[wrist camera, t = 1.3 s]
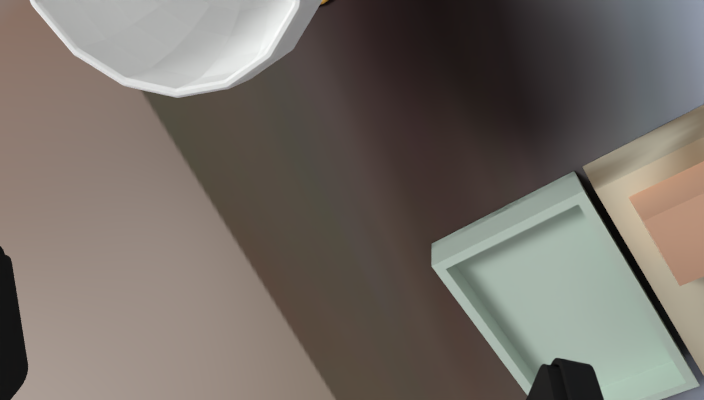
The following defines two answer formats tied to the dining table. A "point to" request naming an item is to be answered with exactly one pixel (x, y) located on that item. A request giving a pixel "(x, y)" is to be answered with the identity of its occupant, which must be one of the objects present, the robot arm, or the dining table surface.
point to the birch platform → (613, 190)
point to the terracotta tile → (676, 221)
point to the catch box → (561, 295)
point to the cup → (179, 39)
